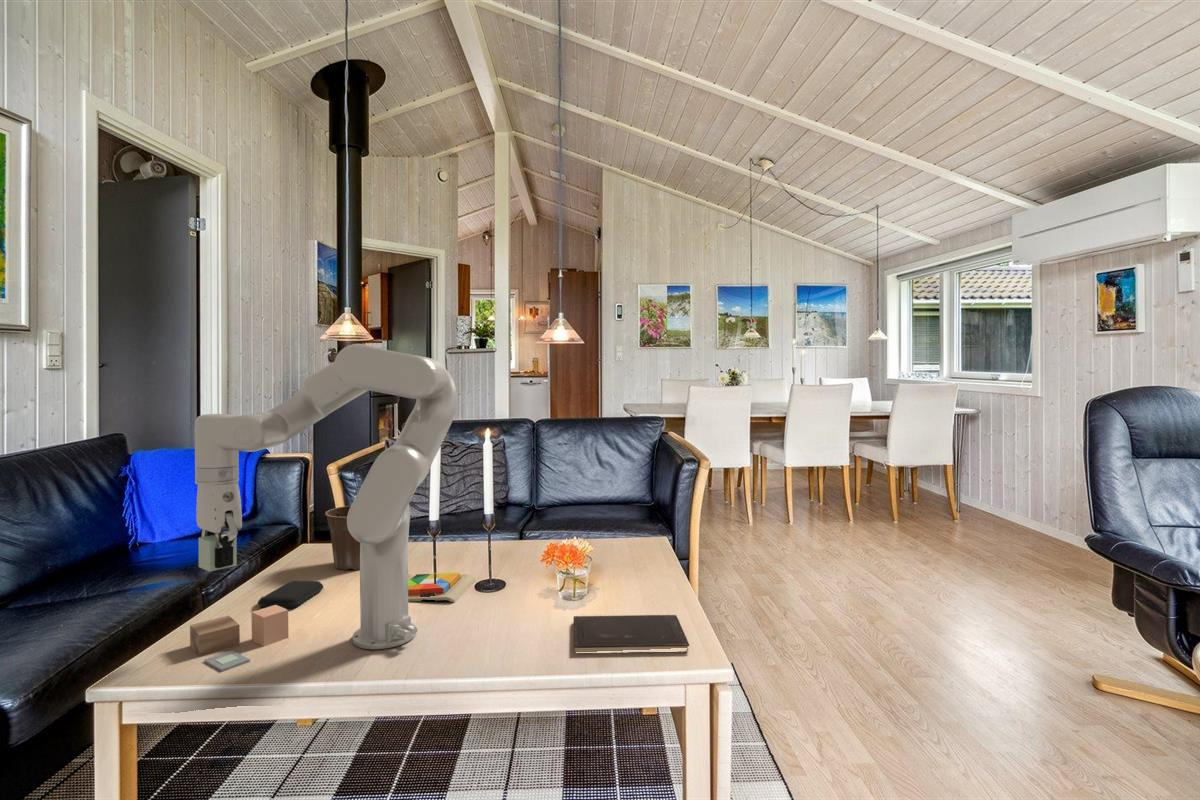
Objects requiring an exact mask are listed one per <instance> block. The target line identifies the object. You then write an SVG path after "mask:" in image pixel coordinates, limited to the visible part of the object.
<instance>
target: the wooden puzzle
mask: <svg viewBox="0 0 1200 800" xmlns="http://www.w3.org/2000/svg"><path fill="white" fill-rule="evenodd" d="M433 574H434V573H423V574H422V573H420V574H419V573H418V574H415V575H414V574H412V573H408V601H413V602H422V601H421V600H423V599H428V600H435V601H448V602H451V603H452V602H455V601H457V600H458V599H459V598H460V596H462V595H463V593H464V592H465V591H466V590H467V589H468V588H469V587H470V586H471V585H472V584H473V583H474V582H475V583H476V577H475V576H474V575H473V574H461V573H460V572H445V573H442V572H441V573H436V574H437V578H436V584H434V575H433ZM475 583H474V584H475ZM474 584H473V585H474ZM473 585H472V586H473ZM472 586H471V587H472ZM471 587H470V588H471ZM470 588H469V589H470ZM469 589H468V590H469ZM468 590H467V591H468ZM467 591H466V592H467ZM466 592H465V593H466ZM423 593H436V594H435V596H430V597H420V595H421V594H423ZM465 593H464V594H465ZM463 596H464V595H463ZM463 596H462V597H463ZM460 599H461V598H460ZM460 599H459V600H460ZM459 600H458V601H459ZM458 601H457V602H458ZM455 603H456V602H455Z"/></svg>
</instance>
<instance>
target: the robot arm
mask: <svg viewBox="0 0 1200 800" xmlns="http://www.w3.org/2000/svg"><path fill="white" fill-rule="evenodd" d="M369 391H371V392H376V393H381V394H385V395H386V394H387V395H391V396H392V395H393V396H398V397H401V398H407V399H412V400H414V399H415V400H416V401H415V404H414V406H413V410H412V411H411V413H410V414H409V416H407V419H406V422H405V424H404V426H403V427H402V430H401V431H400V433H399V434H398V437H397V439H396V440H395V442H394V444H392V445H391V446H390V447H388V448H386V449H385V450H383V451H382V452H381V453H380V454H379V455H377V457H376V459H375V460H374V462H373V464H372V465H371V467H370V469H369V470H368V473H367V474H366V476H365V478H364V480H363V482H362V484H361V486H360V488H359V490H358V491H357V493H356V495H355V497H354V500H353V501H352V503H351V507H350V509H349V512H348V515H347V527H348V530H349V532H350V534H351V535H352V537H353V538H354V539H355V540H357V541H358V542H360V543H361V544H360V569H359V596H360V597H359V598H360V599H359V607H360V608H359V609H360V610H359V614H360V615H359V616H360V618H359V619H360V623H359V625H360V627H359V628H358V629H356V631H354V632H353V634H352V640H351V641H352V644H353V646H354V645H355V647H358V648H360V649H365V650H385V649H391V648H395V647H398V646H401V645H403V644H406V643H408V642H410V641H412V639H414V637H415V636H416V635H417V632H418V628H417V626H416V625H415V624H414V623H412V621H411V620H412V617H411V616H410V615H409V602H408V574H409V534H410V533H409V532H410V523H411V511H410V510H411V509H410V508H411V507H410V502H411V500H412V498H413V496H414V494H415V492H416V490H417V489H418V487H419V485H421V484H422V483H423V481H424V480H425V479H426V478H427V476H428V475H429V472H430V469H431V467H432V465H433V462H434V460H435V458H436V456H437V455H438V453H439V450H440V448H441V447H442V444H443V443H444V440H445V438H446V436H447V433H448V431H449V430H450V427H451V425H452V423H453V421H454V418H455V414H456V411H457V408H458V391H457V387H456V384H455V381H454V379H453V378H452V375H451V374H450V372H449V371H448V370H447V368H446V367H445V366H444V365H443V364H442V363H440V362H439V361H437V360H436V359H435V358H434V359H433V358H430V357H427V356H423V355H422V356H421V355H416V354H411V353H405V352H399V351H395V350H394V351H393V350H390V349H389V350H388V349H384V348H380V347H376V346H373V345H369V344H365V343H352V344H349V345H347V346H344V347H343V348H342V349H341V350H340V351H339V352H338V353H337V355H336V357H335V359H334V361H333V362H331V363H330V364H328V365H326V366H325V367H323V368H321V369H319V370H318V371H316V372H313V374H311V375H309V376H307V377H305V378H304V379H303V380H302V382H301V385H300V388H299V390H298V391H297V392H296V393H295V394H294V395H292V396H291V397H289V398H288V399H286V400H285V401H283V402H281V403H280V404H278V405H277V406H275V407H273V408H271V409H269V410H267V411H265V412H255V413H249V414H241V415H234V414H229V413H207V414H201V415H199V416H197V417H196V419H195V420H194V421H195V422H194V472H195V473H194V484H195V485H197V492H196V509H195V510H196V511H195V513H196V515H195V516H196V519H195V520H196V525H197V527H198V528H199V529H200V534H201V536H200V537H205V536H210V535H216V543H217V548H215V568H222V567H226V566H231V565H233V546H234V540H235V537H237V536H238V534H239V533H238V532H239V530H242V527H243V514H242V513H243V511H242V500H241V492H240V491H241V490H240V486H239V480H240V477H239V476H240V471H239V470H240V468H239V467H240V464H239V462H240V461H239V460H240V457H239V456H240V455H239V454H240V453H239V452H249V453H250V452H251V453H253V452H258V451H263V450H265V449H269V448H273V447H277V446H279V445H281V444H283V443H286V442H287V441H289V440H290V439H292V438H294V437H295V436H297V435H299V434H300V433H302V432H304V431H306V430H307V429H309V428H311V426H313V425H315V424H317V422H319V421H321V420H322V419H325V418H326V417H327V416H328V415H329V414H331V413H333V412H334V411H336V410H338V409H339V408H341V407H343V406H344V405H346V404H347V403H349V402H351V401H353V400H355V399H356V398H358V397H359V396H361V395H363V394H365V393H366V392H369ZM223 529H224V531H222V530H223ZM225 529H226V530H225ZM225 534H226V536H224V537H223V539H221V535H225Z"/></svg>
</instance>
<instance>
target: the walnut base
mask: <svg viewBox="0 0 1200 800" xmlns="http://www.w3.org/2000/svg"><path fill="white" fill-rule="evenodd" d="M240 629H241V628H240V624H239V623H238V622H237V621H236V620H234V619H233V618H232V617H231V616H230V615H226V616H221V617H217V618H214V619H210V620H205V621H201V622H196V623H193V624H189V643H190V644H189V646H190V647H191V649H192V650H193V651H194V652H195V653H196V655H198V658H199V657H200V658H202V657H204V656H208V655H211V654H215V653H219V652H222V651H225V650H229V649H233V648H236V647H240V646H241V643H240V642H241V640H240V637H241V635H240V634H241V633H240Z"/></svg>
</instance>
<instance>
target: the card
mask: <svg viewBox="0 0 1200 800" xmlns="http://www.w3.org/2000/svg"><path fill="white" fill-rule="evenodd" d="M203 662H204V663H205V664H207V665H209V666H211V667H213V668H215V669H217V670H219V671H220V672H224V671H227V670H230V669H233V668H235V667H238V666H242V665H244V664H247V663H249V662H251V659H250V658H248V657H247V656H245V655H242V654H240V653H238V652H236V651H234V650H233V649H231V650H229V651H225V652H223V653H219V654H216V655H215V656H214V655H213V656H211V657H208V658H205V659H204V661H203Z"/></svg>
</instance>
